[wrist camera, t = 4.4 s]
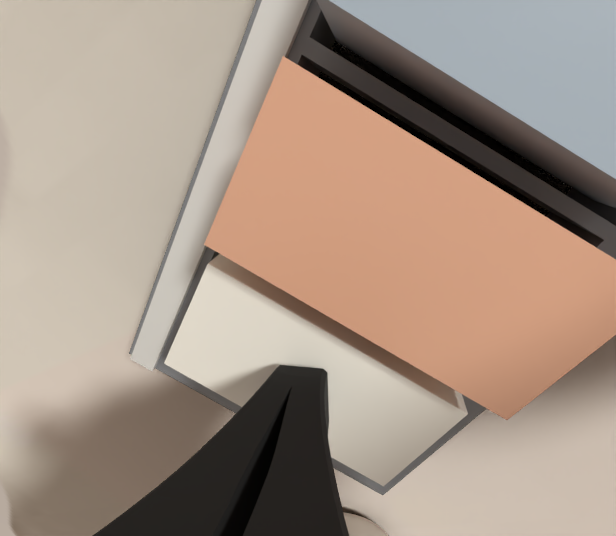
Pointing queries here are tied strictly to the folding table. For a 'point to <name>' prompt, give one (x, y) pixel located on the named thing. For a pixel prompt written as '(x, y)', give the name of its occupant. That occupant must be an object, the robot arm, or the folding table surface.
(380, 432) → the ivory key
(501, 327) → the terracotta key
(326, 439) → the robot arm
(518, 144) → the slate key
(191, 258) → the grey shallow tray
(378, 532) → the plastic bottle
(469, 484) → the folding table surface
